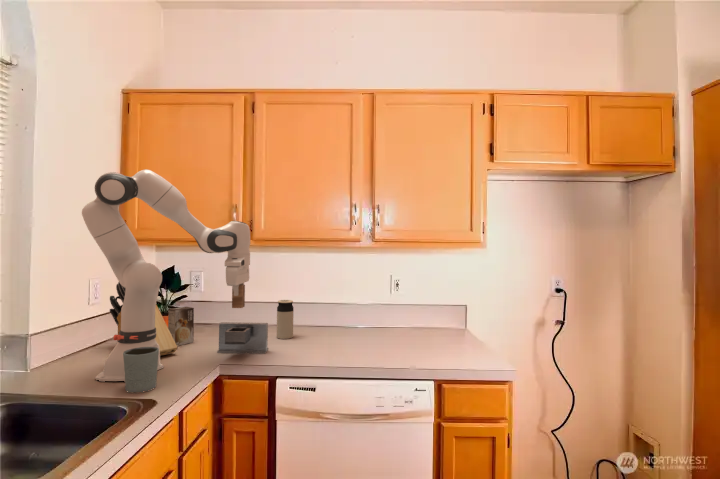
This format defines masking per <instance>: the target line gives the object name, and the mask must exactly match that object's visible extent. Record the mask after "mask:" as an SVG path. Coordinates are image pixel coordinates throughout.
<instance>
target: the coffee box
mask: <svg viewBox="0 0 720 479" xmlns="http://www.w3.org/2000/svg"><path fill="white" fill-rule="evenodd" d="M167 309H168V310H167V311H168V312H167V315H168V316H167V318H168V319H167V322H168V324H167V327H168V329H169V331H170V333H171V335H172V337H173V339H174V341H175V343H176V345H177V347H178V346H181V345H186V344H193V343H194V342H195V340H194V338H195V336H194V334H195V332H194V330H195V329H194V328H195V326H194V325H195V321H194V320H195V319H194V318H195V315H194V314H195V310H194V309H195V308H194V307H191V306H181V307H173V308H167Z"/></svg>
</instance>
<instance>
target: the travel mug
mask: <svg viewBox="0 0 720 479" xmlns="http://www.w3.org/2000/svg"><path fill="white" fill-rule="evenodd" d="M293 302H294V301H293V300H292V299H279V300H277V303H278V305H277V306H276V338H277V339H280V340H287V339H288V340H290V339H292V338H293V337H294V306H293Z"/></svg>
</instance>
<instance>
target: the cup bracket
mask: <svg viewBox="0 0 720 479" xmlns="http://www.w3.org/2000/svg"><path fill="white" fill-rule="evenodd" d="M268 334H269V323H268V322H238V321H237V322H235V321H234V322H233V321H231V322H227V321H222V322H219V324H218V350H217V351H216V353H217V354H256V355H257V354H259V355H261V354H263V355H264V354H266V353H267V352H268V351H269V347H268V341H269V339H268V338H269V336H268Z"/></svg>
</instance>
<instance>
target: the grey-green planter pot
mask: <svg viewBox="0 0 720 479" xmlns="http://www.w3.org/2000/svg"><path fill="white" fill-rule="evenodd" d="M158 355H159V348H157V347H139V348H133V349H129V350H126V351H124V352H123V359H124V371H125V381H124V383H125V392H126V391H128V392H127V393H129V392H142V393H144V392H143V391H147V392H149V391H148V390H150V391H152V390H154V389H155V388H156V387H157V379H158V378H157V377H158V370H157V367H158ZM153 388H154V389H153ZM151 389H152V390H151Z"/></svg>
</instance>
